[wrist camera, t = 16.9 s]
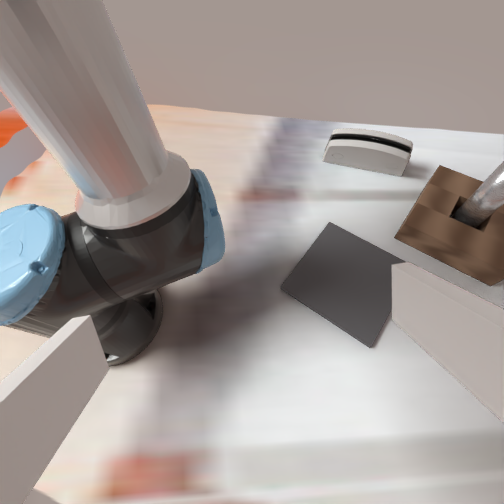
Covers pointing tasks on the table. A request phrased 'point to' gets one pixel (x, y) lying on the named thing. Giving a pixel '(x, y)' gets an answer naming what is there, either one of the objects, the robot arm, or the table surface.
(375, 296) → the mat
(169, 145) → the table surface
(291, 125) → the table surface
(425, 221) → the socket block
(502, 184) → the pin
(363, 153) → the napkin holder
